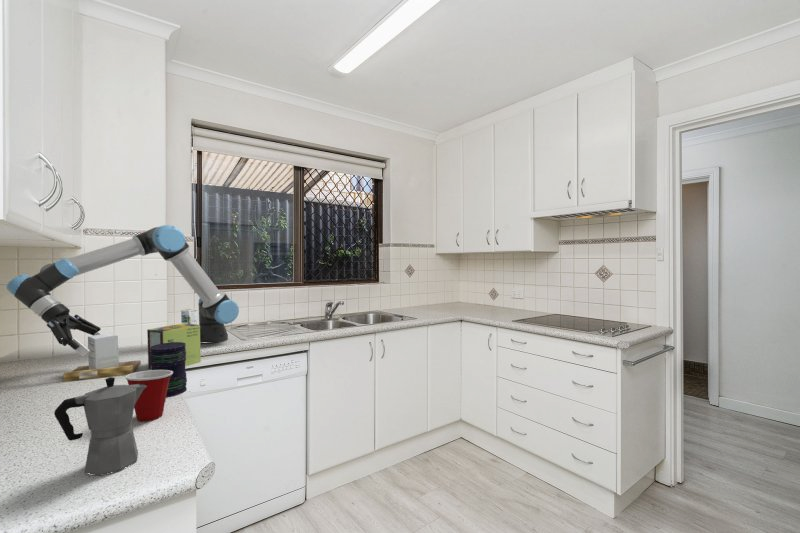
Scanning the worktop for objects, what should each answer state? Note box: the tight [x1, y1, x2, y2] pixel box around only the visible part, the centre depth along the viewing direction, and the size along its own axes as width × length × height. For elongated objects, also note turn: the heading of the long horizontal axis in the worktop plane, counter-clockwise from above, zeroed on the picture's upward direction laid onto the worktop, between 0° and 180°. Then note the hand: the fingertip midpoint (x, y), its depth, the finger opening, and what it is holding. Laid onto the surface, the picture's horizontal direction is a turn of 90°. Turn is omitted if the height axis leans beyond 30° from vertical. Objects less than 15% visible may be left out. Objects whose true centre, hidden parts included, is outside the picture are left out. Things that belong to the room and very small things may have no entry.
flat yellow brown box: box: [63, 359, 142, 382], centre depth 144 cm, size 20×15×3 cm
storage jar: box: [150, 342, 188, 398], centre depth 122 cm, size 10×10×15 cm
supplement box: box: [87, 332, 120, 370], centre depth 143 cm, size 7×7×13 cm
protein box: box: [146, 323, 202, 370], centre depth 153 cm, size 10×15×16 cm
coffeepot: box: [53, 376, 147, 476], centre depth 78 cm, size 15×9×18 cm, turn 144°
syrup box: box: [180, 308, 198, 325], centre depth 214 cm, size 6×6×14 cm
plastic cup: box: [124, 369, 173, 422], centre depth 103 cm, size 11×11×12 cm
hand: (98, 349), depth 143 cm, fingers open, 13 cm apart
